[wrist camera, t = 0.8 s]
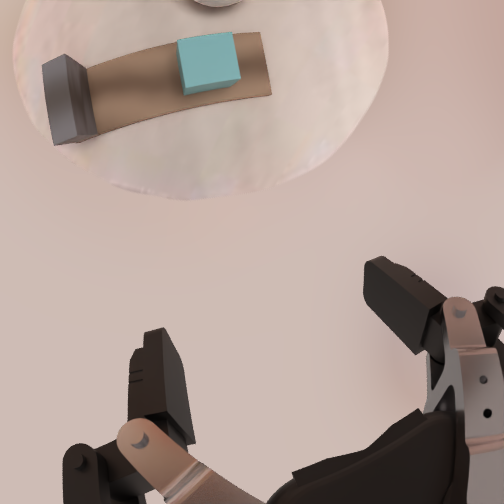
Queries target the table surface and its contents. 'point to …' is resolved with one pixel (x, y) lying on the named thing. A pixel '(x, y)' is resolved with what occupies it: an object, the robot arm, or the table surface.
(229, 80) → the teal block
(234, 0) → the ball
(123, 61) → the brown piece
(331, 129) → the table surface
